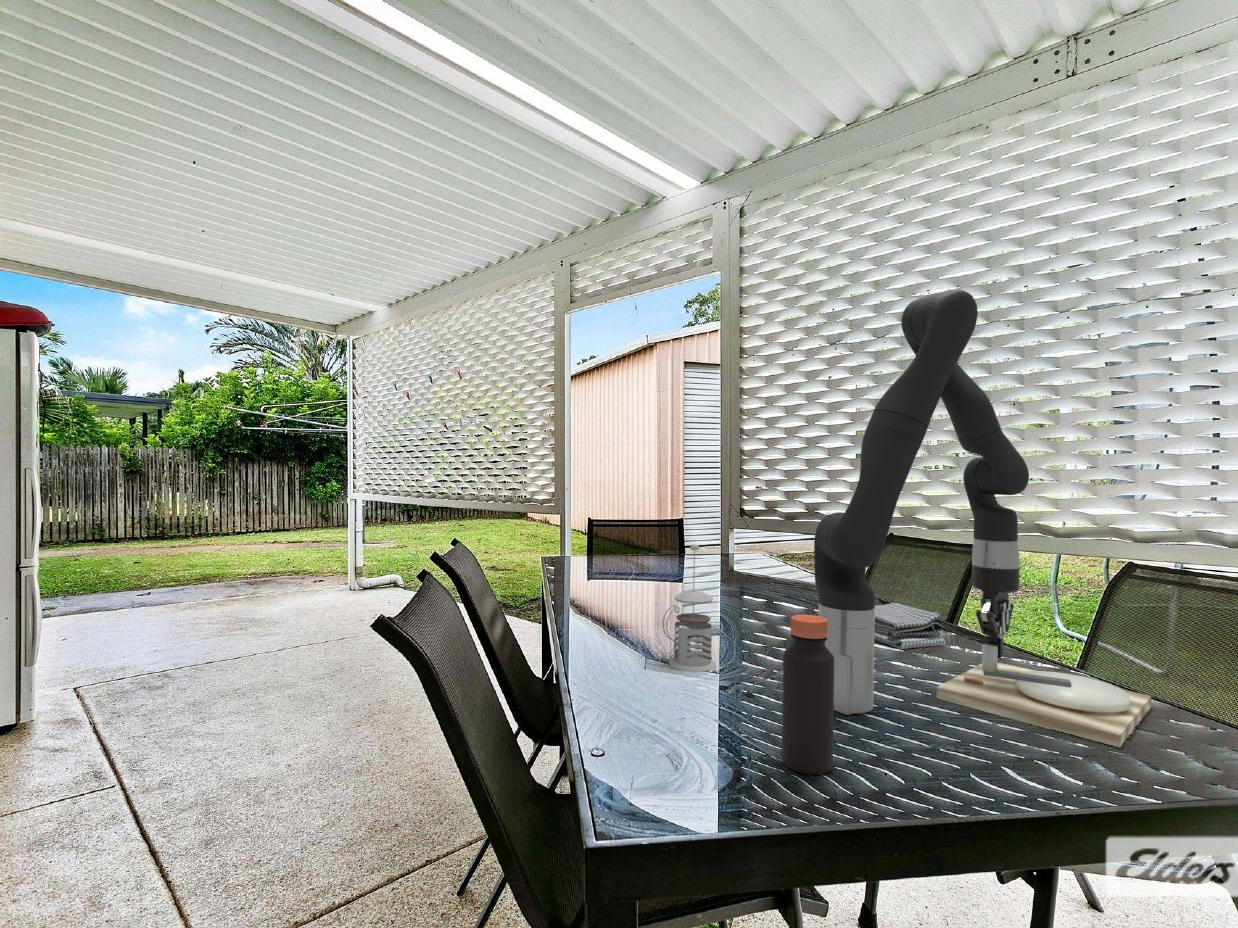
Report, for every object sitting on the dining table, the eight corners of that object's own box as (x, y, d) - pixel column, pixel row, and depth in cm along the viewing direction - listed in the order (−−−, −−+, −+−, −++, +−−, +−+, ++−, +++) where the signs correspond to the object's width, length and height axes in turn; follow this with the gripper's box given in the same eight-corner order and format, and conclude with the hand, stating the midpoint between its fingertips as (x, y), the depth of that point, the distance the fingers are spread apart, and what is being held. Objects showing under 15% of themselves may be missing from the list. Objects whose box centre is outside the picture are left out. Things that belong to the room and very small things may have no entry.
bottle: (772, 763, 85) (774, 617, 85) (797, 748, 89) (799, 610, 90) (817, 781, 80) (820, 627, 80) (841, 764, 84) (843, 619, 85)
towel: (891, 628, 163) (891, 598, 163) (949, 647, 146) (949, 614, 146) (844, 631, 158) (844, 601, 158) (897, 651, 141) (898, 617, 141)
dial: (1155, 715, 98) (1155, 673, 98) (1017, 707, 100) (1017, 666, 100) (1089, 681, 114) (1090, 645, 114) (972, 675, 116) (972, 639, 116)
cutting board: (1119, 748, 91) (1119, 731, 91) (936, 698, 111) (936, 683, 111) (1151, 707, 108) (1151, 692, 108) (987, 669, 128) (987, 657, 128)
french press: (725, 668, 125) (727, 546, 126) (674, 674, 121) (676, 547, 121) (701, 655, 134) (703, 540, 135) (653, 660, 130) (655, 542, 131)
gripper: (1006, 570, 107) (1006, 669, 107) (1029, 562, 116) (1029, 654, 116) (960, 565, 113) (960, 659, 113) (985, 558, 122) (985, 645, 122)
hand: (995, 656), depth 114 cm, fingers closed
